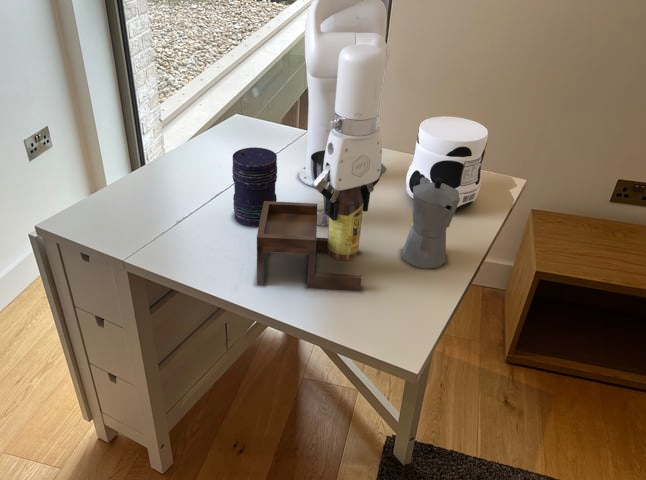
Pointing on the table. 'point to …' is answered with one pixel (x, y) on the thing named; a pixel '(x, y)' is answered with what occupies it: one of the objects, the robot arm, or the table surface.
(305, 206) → the step rack
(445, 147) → the milk container
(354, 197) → the sauce bottle
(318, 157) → the wine glass
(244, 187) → the dark blue cylinder
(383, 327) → the table surface
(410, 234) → the coffeepot
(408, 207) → the table surface
